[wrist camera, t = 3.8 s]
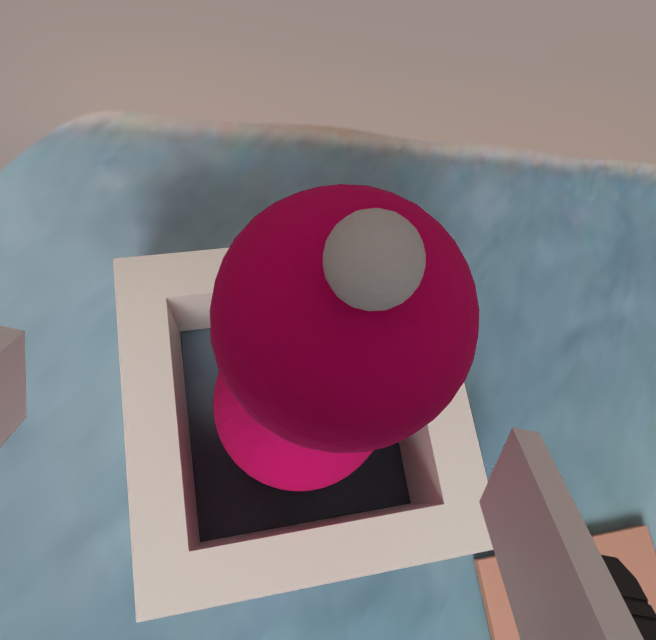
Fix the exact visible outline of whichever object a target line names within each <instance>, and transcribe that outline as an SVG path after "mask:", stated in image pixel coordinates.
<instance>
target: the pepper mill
mask: <svg viewBox="0 0 656 640" xmlns="http://www.w3.org/2000/svg"><path fill="white" fill-rule="evenodd" d="M478 330H479V306H478V300H477V294H476V287H475V283H474V281H473V278H472V275H471V272H470V269H469V266H468V264H467V262H466V260H465V258H464V256H463V255H462V253H461V251H460V249H459V247H458V246H457V244H456V242H455V241H454V240H453V238H452V237H451V236H450V235H449V234H448V232H447V231H446V230H445V229H444V228H443V227H442V225H441V224H440V223H439V222H438V221H436V220H435V219H434V218H433V217H431V216H430V215H429V214H428V213H426V212H425V211H424V210H423V209H422V208H420V207H419V206H418V205H417V204H415V203H413V202H411V201H408V200H406V199H404V198H402V197H400V196H398V195H396V194H394V193H392V192H388V191H385V190H381V189H378V188H374V187H371V186H363V185H344V184H339V185H330V186H320V187H316V188H312V189H308V190H305V191H301V192H298V193H295V194H293V195H291V196H289V197H286V198H284V199H282V200H280V201H277V202H275V203H273V204H272V205H271V206H269V207H268V208H266V209H265V210H263V211H262V212H261V213H259V214H258V215H256V216H255V217H254V218H253V219H252V220H251V221H250V222H249V224H248V225H247V226H246V227H245V228H244V229H243V230H242V231H241V232H240V234H239V235H238V236H237V237H236V238H235V239H234V241H233V243H232V244H231V246H230V248H229V249H228V251H227V253H226V254H225V256H224V257H223V260H222V263H221V265H220V268H219V271H218V274H217V276H216V279H215V283H214V289H213V294H212V300H211V305H210V334H211V343H212V347H213V350H214V354H215V357H216V361H217V364H218V368H219V373H218V377H217V380H216V384H215V390H214V400H213V412H214V420H215V425H216V428H217V432H218V435H219V438H220V440H221V442H222V444H223V446H224V448H225V450H226V451H227V453H228V454H229V455H230V457H231V458H232V459H233V461H234V462H235V463H236V464H237V465H238V466H239V467H240V468H241V469H242V470H243V471H245V472H246V473H247V474H248V475H249V476H251V477H253V478H255V479H256V480H258V481H260V482H261V483H263V484H266V485H269V486H272V487H275V488H278V489H281V490H288V491H311V490H316V489H321V488H324V487H327V486H330V485H332V484H335V483H337V482H339V481H340V480H342V479H344V478H346V477H347V476H349V475H350V474H351V473H352V472H353V471H355V470H356V469H357V468H358V467H359V466H361V464H362V463H363V462H364V461H365V460H366V459H367V458H368V457H369V455H370V454H371V453H372V452H373V450H376V449H380V448H384V447H388V446H391V445H393V444H395V443H397V442H399V441H402V440H404V439H406V438H408V437H410V436H411V435H413V434H415V433H416V432H418V431H419V430H420V429H422V428H423V427H425V426H426V425H427V424H429V423H430V422H431V421H433V420H434V419H435V418H436V417H437V416H438V415H439V414H440V413H441V412H442V411H443V410H444V409H445V408H446V407H447V406H448V405H449V404H450V403H451V401H452V399H453V398H454V396H455V395H456V393H457V392H458V390H459V389H460V387H461V386H462V384H463V383H464V381H465V379H466V377H467V374H468V372H469V369H470V367H471V364H472V362H473V359H474V355H475V350H476V344H477V339H478Z"/></svg>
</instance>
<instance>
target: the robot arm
mask: <svg viewBox="0 0 656 640" xmlns="http://www.w3.org/2000/svg"><path fill="white" fill-rule="evenodd" d="M25 418H26V374H25V331H23V330H18V329H13V328H8V327H3V326H0V448H1V446H2V445H3V444H4V443H5V442H6V441H7V439H8V438H9V437H10V436H11V435H12V433H13V432H14V431H15V430H16V429H17V428H18V426H19V425H20V424H21V423H22V422H23V420H24V419H25ZM479 503H480V506H481V510H482V513H483V516H484V520H485V523H486V526H487V530H488V533H489V536H490V540H491V543H492V546H493V550H494V553H495V556H496V560H497V563H498V566H499V570H500V573H501V576H502V580H503V583H504V586H505V590H506V593H507V597H508V600H509V603H510V607H511V610H512V613H513V617H514V620H515V623H516V627H517V630H518V633H519V637H520V640H656V613H655V612H654V610H653V608H652V606H651V605H649V604H648V599H647V597H646V595H645V593H644V592H643V590H642V588H641V586H640V584H639V583H638V581H637V579H636V578H635V577H634V575H633V574H632V573H631V572H630V571H629V570H628V569H627V568H626V567H625V566H624V565H623V563H622V562H621V561H620V560H619V559H618V558H616V557H611V556H606V555H601V554H600V552H599V550H598V548H597V546H596V544H595V542H594V540H593V538H592V536H591V534H590V532H589V530H588V528H587V526H586V524H585V522H584V520H583V519H582V517H581V515H580V513H579V511H578V509H577V507H576V505H575V503H574V501H573V499H572V497H571V495H570V493H569V491H568V489H567V487H566V485H565V483H564V481H563V479H562V477H561V475H560V473H559V471H558V469H557V467H556V465H555V463H554V461H553V459H552V457H551V455H550V453H549V451H548V449H547V447H546V445H545V443H544V441H543V440H542V438H541V436H540V434H539V433H538V432H533V431H528V430H523V429H518V428H513V427H512V430H511V432H510V434H509V436H508V439H507V441H506V443H505V445H504V447H503V450H502V452H501V454H500V456H499V459H498V461H497V463H496V465H495V468H494V470H493V472H492V474H491V476H490V479H489V481H488V483H487V485H486V488H485V490H484V492H483V494H482V497H481V499H480V501H479Z"/></svg>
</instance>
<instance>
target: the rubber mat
mask: <svg viewBox="0 0 656 640" xmlns="http://www.w3.org/2000/svg"><path fill="white" fill-rule="evenodd" d="M591 536H592V538H593V540H594V542H595V544H596V546H597V548H598V550H599V552H600V554H601V555H606V556H611V557H616V558H618V559H619V560H620V561H621V562H622V563H623V565H624V566H625V567H626V568H627V569H628V570H629V571H630V572H631V573H632V574H633V575H634V577H635V578H636V579H637V581H638V583H639V584H640V586H641V588H642V590H643V592H644V593H645V595H646V597H647V599H648V604H649V605H651V606H652V608H653V610H654V612H655V613H656V553H655V550H654V547H653V543H652V540H651V537H650V534H649V530H648V527H647V526H645V525H639V526H634V527H629V528H624V529H620V530H615V531H610V532H605V533H600V534H595V535H591ZM474 563H475V568H476V572H477V577H478V581H479V586H480V590H481V595H482V599H483V604H484V608H485V613H486V617H487V622H488V626H489V631H490V635H491V640H520V637H519V633H518V630H517V627H516V623H515V620H514V617H513V613H512V610H511V607H510V603H509V600H508V597H507V593H506V590H505V586H504V583H503V580H502V576H501V573H500V570H499V566H498V563H497V560H496V556H495V555H494V556H489V557H484V558H479V559H474Z"/></svg>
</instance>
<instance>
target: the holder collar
mask: <svg viewBox="0 0 656 640" xmlns="http://www.w3.org/2000/svg"><path fill="white" fill-rule="evenodd" d="M228 249H229V248H220V249H210V250H199V251H189V252H178V253H168V254H158V255H147V256H137V257H126V258H116V259H113V264H114V280H115V296H116V312H117V327H118V343H119V359H120V375H121V390H122V406H123V422H124V437H125V453H126V469H127V485H128V500H129V516H130V532H131V547H132V563H133V579H134V595H135V610H136V623H137V622H142V621H147V620H152V619H157V618H162V617H167V616H171V615H176V614H181V613H186V612H191V611H196V610H201V609H206V608H211V607H215V606H220V605H225V604H230V603H235V602H240V601H245V600H250V599H255V598H260V597H264V596H269V595H274V594H279V593H284V592H289V591H294V590H299V589H304V588H308V587H313V586H318V585H323V584H328V583H333V582H338V581H343V580H348V579H353V578H357V577H362V576H367V575H372V574H377V573H382V572H387V571H392V570H397V569H401V568H406V567H411V566H416V565H421V564H426V563H431V562H436V561H441V560H446V559H450V558H455V557H460V556H465V555H470V554H475V553H480V552H485V551H490V550H493V546H492V543H491V540H490V536H489V533H488V530H487V526H486V523H485V520H484V516H483V513H482V510H481V506H480V503H479V501H480V499H481V497H482V494H483V492H484V490H485V488H486V485H487V483H488V481H487V477H486V473H485V468H484V464H483V460H482V456H481V451H480V447H479V443H478V439H477V435H476V430H475V426H474V422H473V418H472V414H471V409H470V405H469V401H468V397H467V392H466V388H465V384H464V383H463V384H462V386H461V387H460V389H459V390H458V392H457V393H456V395H455V396H454V398H453V399H452V401H451V403H450V404H449V405H448V406H447V407H446V408H445V409H444V410H443V411H442V412H441V413H440V414H439V415H438V416H437V417H436V418H435V419H434V420H433V421H431V422H430V423H429V424H427V425H426V426H425V427H423V428H422V429H420V430H419V431H418V432H416V433H415V434H413V435H411V436H410V437H408V438H406V439H404V440H402V441H399V447H400V452H401V457H402V462H403V467H404V472H405V477H406V482H407V487H408V492H409V497H410V504H405V505H399V506H394V507H388V508H383V509H378V510H372V511H367V512H361V513H356V514H350V515H345V516H340V517H334V518H329V519H323V520H318V521H312V522H307V523H301V524H296V525H291V526H285V527H280V528H274V529H269V530H263V531H258V532H252V533H247V534H242V535H236V536H231V537H225V538H220V539H214V540H209V541H204V542H200V537H199V526H198V516H197V505H196V495H195V485H194V474H193V464H192V453H191V443H190V432H189V422H188V412H187V401H186V391H185V380H184V370H183V359H182V349H181V338H180V331H189V330H197V329H205V328H210V305H211V300H212V294H213V289H214V283H215V279H216V276H217V274H218V271H219V268H220V265H221V263H222V260H223V257H224V256H225V254H226V253H227V251H228Z"/></svg>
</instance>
